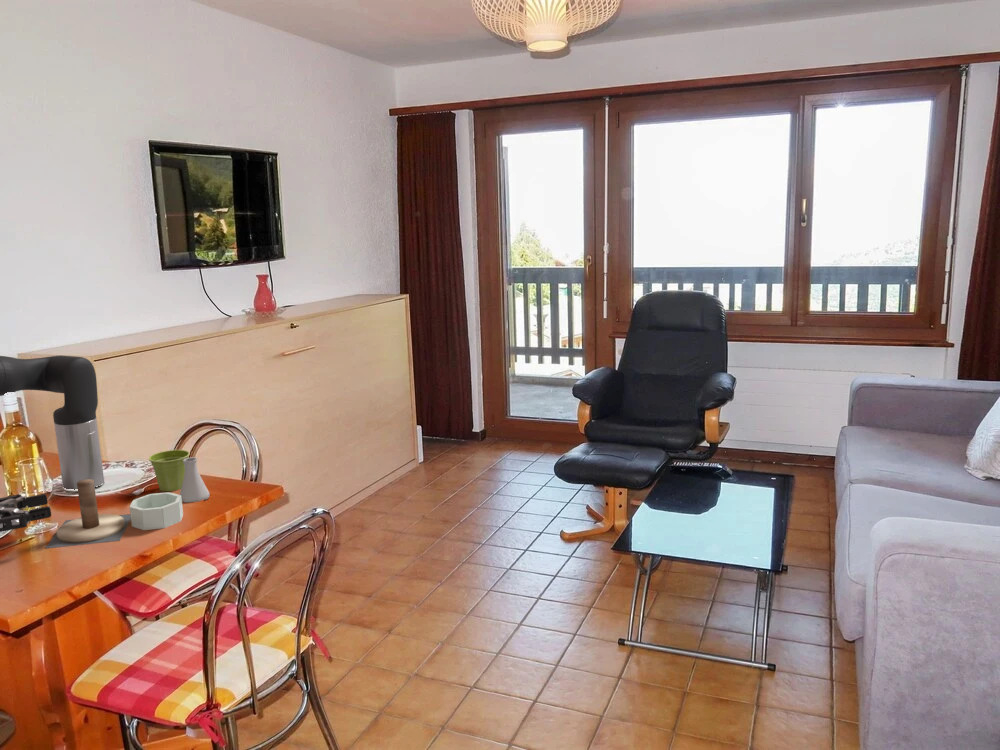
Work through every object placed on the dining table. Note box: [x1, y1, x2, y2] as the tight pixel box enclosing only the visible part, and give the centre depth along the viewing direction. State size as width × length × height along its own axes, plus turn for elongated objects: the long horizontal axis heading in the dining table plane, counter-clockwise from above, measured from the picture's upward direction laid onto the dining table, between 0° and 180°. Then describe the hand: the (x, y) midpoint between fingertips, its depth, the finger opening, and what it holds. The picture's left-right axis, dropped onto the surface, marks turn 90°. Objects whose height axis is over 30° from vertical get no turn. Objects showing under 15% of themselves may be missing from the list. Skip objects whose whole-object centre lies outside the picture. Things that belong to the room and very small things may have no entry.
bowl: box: [129, 491, 184, 531], centre depth 173 cm, size 10×10×5 cm
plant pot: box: [148, 449, 191, 492], centre depth 193 cm, size 9×9×9 cm
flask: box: [179, 456, 211, 503], centre depth 186 cm, size 7×7×10 cm
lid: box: [56, 479, 125, 543], centre depth 167 cm, size 13×13×11 cm
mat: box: [45, 513, 131, 549], centre depth 168 cm, size 15×14×1 cm
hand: (48, 504), depth 162 cm, fingers open, 8 cm apart
